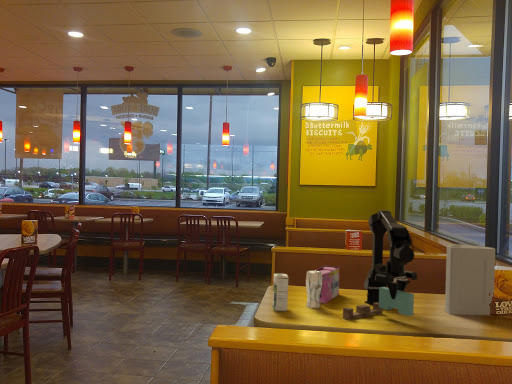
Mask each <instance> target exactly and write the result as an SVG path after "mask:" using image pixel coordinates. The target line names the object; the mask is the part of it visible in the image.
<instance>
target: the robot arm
mask: <svg viewBox="0 0 512 384" xmlns="http://www.w3.org/2000/svg"><path fill="white" fill-rule="evenodd" d="M367 222H368V223H367V224H368V226H369V229H368V230H369V231H370V233H371V234H372V246H371V247H372V250H371V252H372V253H371V268H370V269H369V270H368V272H367V277H366V278H365V281H364V284H363V287H364V289H365V290H366V291H367V293H366V300H364V303H366V304H369V305H372V306H373V303H376V302H378V303H379V288H380V287H387V288H388V289H389V292H390V295H391V298H392V299H395V297H396V293H397V290H399V291H404V292H405V290H406V288H407V287H408V285H409V283H411V281H415V280H418V274H417V272H415V271H410V270H405V266H407V265H408V264H409V263H411V262H412V261H413V260H414V258H415V252H414V250H413V249H412V248H411V247H410V246H412V242H413V240H412V238H411V235H410V232H409V229H408V228H407V227H406V226H405V225H403V224H399V223H398V222H397V220H396V219H395V218H394V215H392V212H391V211H390V210H378V211H377V212H376V213H373V214H371V216H370V217H369V218H368V221H367ZM385 234H386V237H387V240H388V242H389V244H388V245H389V259H388V260H387V261H386V264H383V261H384V260H383V259H384V237H385ZM408 279H411V280H408Z"/></svg>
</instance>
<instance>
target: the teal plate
mask: <svg viewBox="0 0 512 384" xmlns="http://www.w3.org/2000/svg"><path fill="white" fill-rule="evenodd" d="M414 298H415V293H412V292H407V291H405V290H404V291H399V290H397V293H396V297H395V299H392V298H391V295H390V292H389V289H388V286H386V287H380V288H379V308H382V309H383V310H386V311H391V310H394V309H397V310H398V314H400V315H404V316H407V317H410V316H414V305H415V304H414V302H415V301H414V300H415V299H414Z"/></svg>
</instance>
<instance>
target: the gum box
mask: <svg viewBox="0 0 512 384" xmlns="http://www.w3.org/2000/svg"><path fill="white" fill-rule="evenodd" d="M313 271H321V272H322V288H321V293H320V304H327V303H328V302H330V301H331V300H333V299H334V298H335V297H337V296H338V295H339V293H340V266H335V265H334V266H333V265H322V266H320V267H318V268H316V269H314V270H313Z"/></svg>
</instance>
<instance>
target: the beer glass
mask: <svg viewBox="0 0 512 384" xmlns="http://www.w3.org/2000/svg"><path fill="white" fill-rule="evenodd" d="M305 275H306V276H305V288H306V296H307V298H306V299H307V301H306V304H305V307H307V308H309V309H319V308H321V303H320V293H321V288H322V272H321V271H314V270H307V271H306V274H305Z"/></svg>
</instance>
